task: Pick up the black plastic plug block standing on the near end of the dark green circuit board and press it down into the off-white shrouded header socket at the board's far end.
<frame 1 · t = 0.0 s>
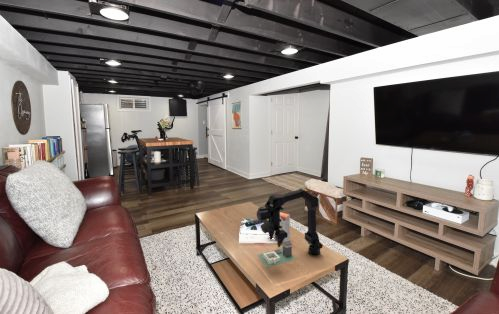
hand: (275, 242, 137), 15 cm above the table, fingers open, 9 cm apart
cracker box: (279, 241, 168), on the table
circuit board: (276, 258, 147), on the table
black plug: (287, 255, 148), point 1 cm above the table, touching circuit board
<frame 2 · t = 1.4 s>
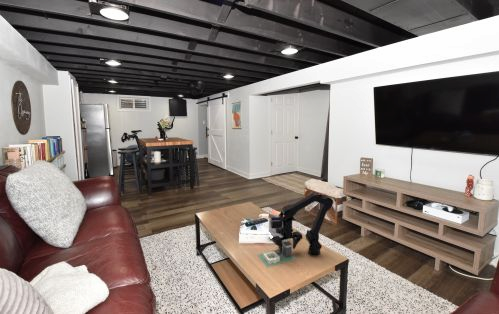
hand: (287, 250, 148), 4 cm above the table, fingers open, 9 cm apart
nothing on the table moved.
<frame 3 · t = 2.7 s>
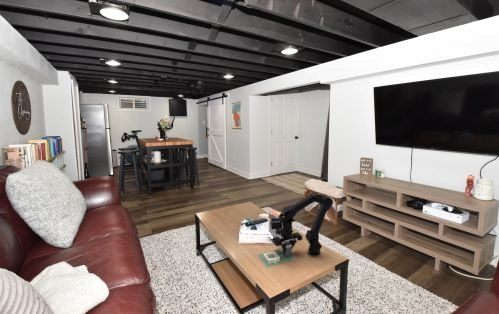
hand: (287, 251, 148), 4 cm above the table, fingers closed on black plug, 4 cm apart
black plug: (287, 255, 148), point 1 cm above the table, touching circuit board, gripper
everything else where it was.
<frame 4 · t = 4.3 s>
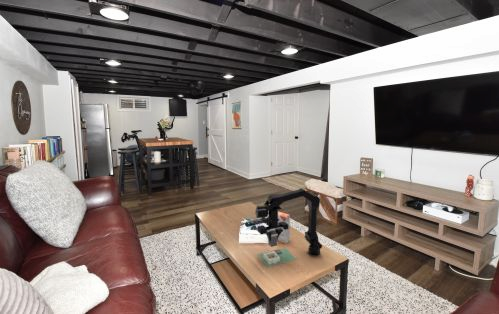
hand: (272, 240, 143), 13 cm above the table, fingers closed on black plug, 4 cm apart
black plug: (272, 244, 143), point 11 cm above the table, touching gripper
everything else where it was.
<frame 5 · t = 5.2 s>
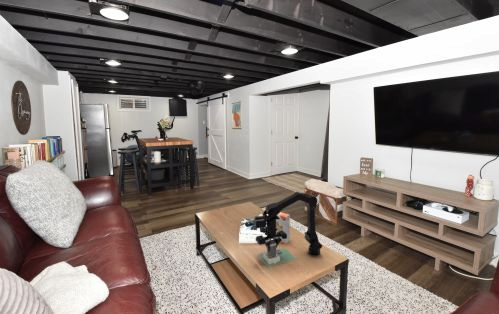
hand: (271, 250, 143), 7 cm above the table, fingers closed on black plug, 4 cm apart
black plug: (271, 254, 144), point 5 cm above the table, touching gripper
everything else where it was.
when the fingers open (5 cm above the table, at t = 6.0 s): black plug stays where it is, resting on circuit board.
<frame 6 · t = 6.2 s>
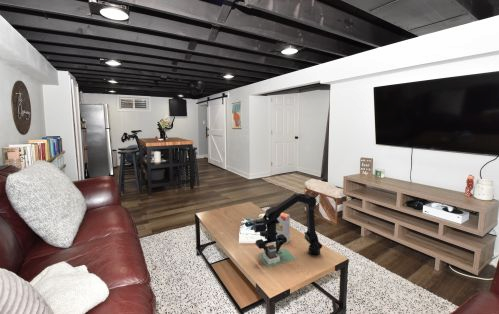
hand: (271, 254, 144), 5 cm above the table, fingers open, 6 cm apart
black plug: (271, 259, 144), point 1 cm above the table, touching circuit board
everything else where it was.
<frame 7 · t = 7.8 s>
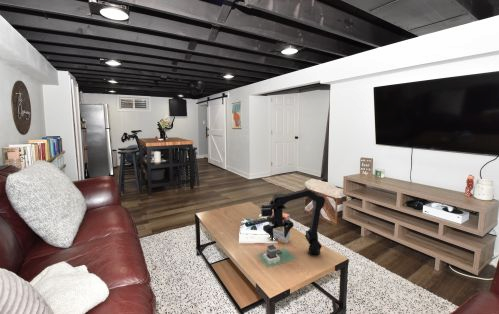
hand: (278, 239, 147), 12 cm above the table, fingers open, 9 cm apart
nothing on the table moved.
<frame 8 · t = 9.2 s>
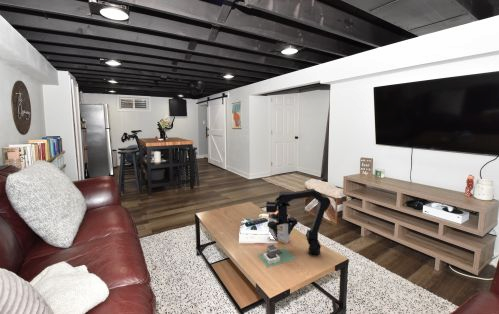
hand: (282, 235, 150), 13 cm above the table, fingers open, 9 cm apart
nothing on the table moved.
at the end: black plug 0.1 cm from the target spot on the circuit board, point 1.3 cm above the circuit board's base; black plug tilted 0°; the gripper is holding nothing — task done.
